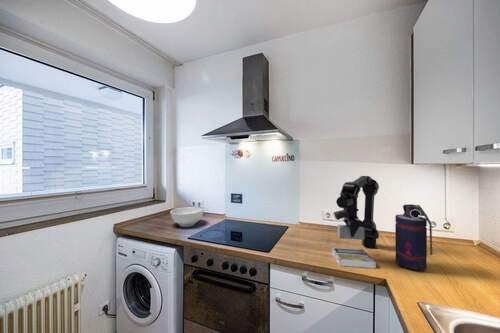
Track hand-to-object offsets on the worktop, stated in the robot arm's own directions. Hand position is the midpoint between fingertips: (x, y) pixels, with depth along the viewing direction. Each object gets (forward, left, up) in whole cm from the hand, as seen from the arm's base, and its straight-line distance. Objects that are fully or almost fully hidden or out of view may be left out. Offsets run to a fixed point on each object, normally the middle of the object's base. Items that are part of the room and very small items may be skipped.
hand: (350, 235), depth 104 cm
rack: (0, +2, -12) cm, 12 cm away
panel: (0, 0, -1) cm, 1 cm away
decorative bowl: (+114, -43, -12) cm, 123 cm away
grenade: (-27, +5, -12) cm, 30 cm away
